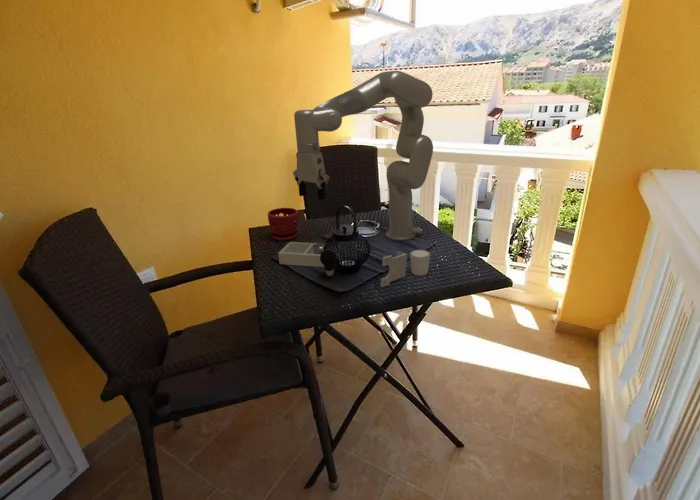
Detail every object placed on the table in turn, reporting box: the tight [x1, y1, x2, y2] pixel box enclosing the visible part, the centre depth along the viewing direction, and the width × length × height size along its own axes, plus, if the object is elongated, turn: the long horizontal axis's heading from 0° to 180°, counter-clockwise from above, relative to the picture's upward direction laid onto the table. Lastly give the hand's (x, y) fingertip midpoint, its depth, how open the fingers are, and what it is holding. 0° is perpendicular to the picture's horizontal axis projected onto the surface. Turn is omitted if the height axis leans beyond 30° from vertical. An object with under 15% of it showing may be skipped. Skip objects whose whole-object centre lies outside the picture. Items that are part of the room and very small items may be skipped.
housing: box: [277, 241, 326, 268], centre depth 142 cm, size 20×11×6 cm, turn 75°
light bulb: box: [320, 249, 338, 277], centre depth 128 cm, size 6×6×10 cm
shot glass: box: [409, 249, 431, 276], centre depth 128 cm, size 7×7×7 cm
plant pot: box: [267, 207, 300, 241], centre depth 164 cm, size 13×13×12 cm
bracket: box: [379, 250, 408, 288], centre depth 123 cm, size 11×4×10 cm, turn 132°
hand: (312, 197), depth 134 cm, fingers open, 9 cm apart
